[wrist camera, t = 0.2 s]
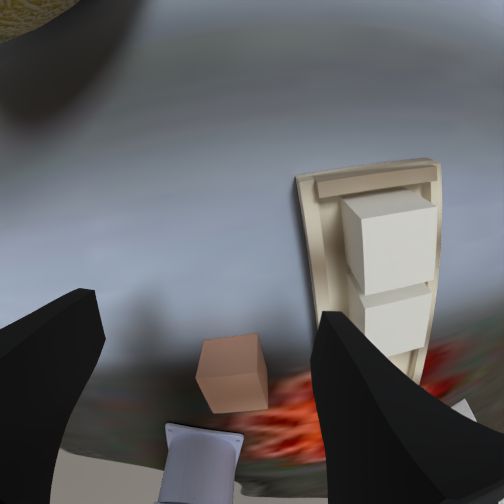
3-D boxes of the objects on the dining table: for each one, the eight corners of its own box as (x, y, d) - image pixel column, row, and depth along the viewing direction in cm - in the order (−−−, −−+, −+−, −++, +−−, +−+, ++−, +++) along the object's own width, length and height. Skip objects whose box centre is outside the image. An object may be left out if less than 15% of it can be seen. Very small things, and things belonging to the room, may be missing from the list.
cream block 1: (404, 248, 18) (433, 279, 14) (345, 260, 18) (364, 295, 14) (403, 186, 16) (437, 206, 12) (339, 196, 16) (361, 219, 13)
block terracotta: (267, 369, 23) (268, 408, 19) (218, 375, 24) (213, 413, 20) (257, 332, 21) (256, 372, 18) (204, 339, 22) (195, 378, 18)
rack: (401, 416, 26) (407, 434, 24) (325, 434, 27) (329, 453, 25) (425, 157, 16) (448, 165, 14) (295, 175, 17) (301, 185, 14)
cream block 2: (402, 310, 19) (424, 346, 16) (349, 322, 20) (364, 362, 16) (404, 260, 18) (432, 292, 14) (346, 271, 18) (364, 308, 15)
